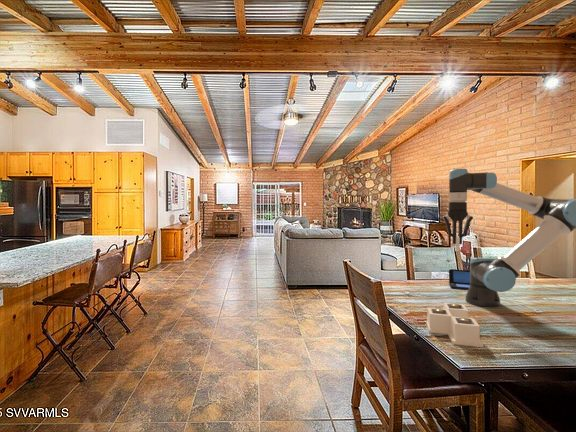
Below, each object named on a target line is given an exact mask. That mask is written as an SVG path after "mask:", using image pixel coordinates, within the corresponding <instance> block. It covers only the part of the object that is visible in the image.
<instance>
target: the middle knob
mask: <svg viewBox="0 0 576 432" xmlns="http://www.w3.org/2000/svg"><path fill="white" fill-rule="evenodd" d="M435 308H436V309H433V313H435V314H445V310H443V308H439V309H438V307H435Z"/></svg>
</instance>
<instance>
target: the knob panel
mask: <svg viewBox="0 0 576 432" xmlns="http://www.w3.org/2000/svg"><path fill="white" fill-rule="evenodd" d="M450 304H453V303H450V302H443V306H442V307H443V308H442V309H443V310H445V314H435V313H433V309H436V308H438V307H427V311H426V312H427V314H426V316H427V319H426V321H425V322H426V326H427V330H428V333H430V334H431V333H432V334H440V335H448V338H449V340H450V342H451V344H452V345H459V346H466V347H467V346H468V347H476V348H484V343H483V341H482V340H481V339H480V338H481V337H480V332H481V331H480V329H481V326H480V325H479V323H478V321H476V319H475V318H472V317H469V310H468V308H467V307H466V306H465V305H464V304H462V303H458V304H459V305H461V309H454V308H450ZM438 309H440V308H438ZM458 318H468V319H470V320H471V324H462V323H458Z"/></svg>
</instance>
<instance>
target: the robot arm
mask: <svg viewBox="0 0 576 432" xmlns="http://www.w3.org/2000/svg"><path fill="white" fill-rule="evenodd" d="M448 177H449V179H448V183H449V184H448V185H449V187H448V189H449V190H448V191H449V193H448V201H449V202H448V211H447V214H446V215H443V216H442V219H443V220H444V222H445V223H444V224H445V226H446V231H447V234H448V236H450V237H452V244H453V245H454V251H455V252H460V245H462V243H463V238H464V237H467V235H468V232H469V229H470V225H471V221H473V219H474V217H473V216H471V215H470V214H469V213H468V208H467V207H468V203H467V201H468V191H473V192H475V193H478V194H481V195H484V196H486V197H488V198H492V199H493V200H496V201H500V202H503V203H506V204H508V205H511V206H514V207H516V208H519V209H522V210H525V211H527V212H528V214H530V215H532V216H534V217H537V218H539V219H541V220H543V221H542V222H541V223H540V224H538V226H537V227H536V228H534V229H533V230H532V231H531V232H530V233H528V234H527V235H526V236H525V237H523V239H521V240H520V241H519V242H518V243H517V244H516V245H515V246H513V247H512V248H511V249H510V250H509V251H508V252H506V254H504V255H503V256H496V257H495V258H493V257H490V258H489V257H472V258H470V261H469V271H470V287H469V289H468V290H467V291H466V294H465V301H466V302H467V303H469V304H472V305H474V306H481V307H485V308H487V307H488V308H489V307H490V308H495V307H499V306H501V299H500V296H499V293H504V292H507V291H510V290H512V289H513V288H514V287H515V285H516V280H517V278H519V276H520V273H521V272H520V271H521V270H522V269H523V268H524V267H525V266H526V265H527V264H529V263H530V262H531V261H533V259H535V258H536V257H537V256H538V255H540V253H541V252H543V251H544V250H545V249H546V248H548V247H549V246H550V245H552V243H554V242H555V241H556V240H557V239H558V238H560V237H561V236H562V235H565V234H570V233H572V232H573V231H574V230H575V229H576V198H571V199H568V198H567V199H566V198H565V199H560V198H559V199H557V198H556V199H555V198H548V197H544V196H541V195H539V196H535V195H533V194H529V193H526V192H524V191H521V190H517V189H515V188H512V187H509V186H506V185H503V184H500V183H498V177H497V175H496V173H495V172H488V171H486V172H468V169H467V168H454V169H451V170H450V171H449V176H448ZM449 218H450V219H451V221H452V230H451V225H450V222H449ZM465 219H466V221H465V224H464V220H465ZM457 222H458V223H457ZM457 224H458V227H457ZM463 224H464V225H465V226H464V228H463ZM457 228H458V231H457ZM457 233H458V236H457Z"/></svg>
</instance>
